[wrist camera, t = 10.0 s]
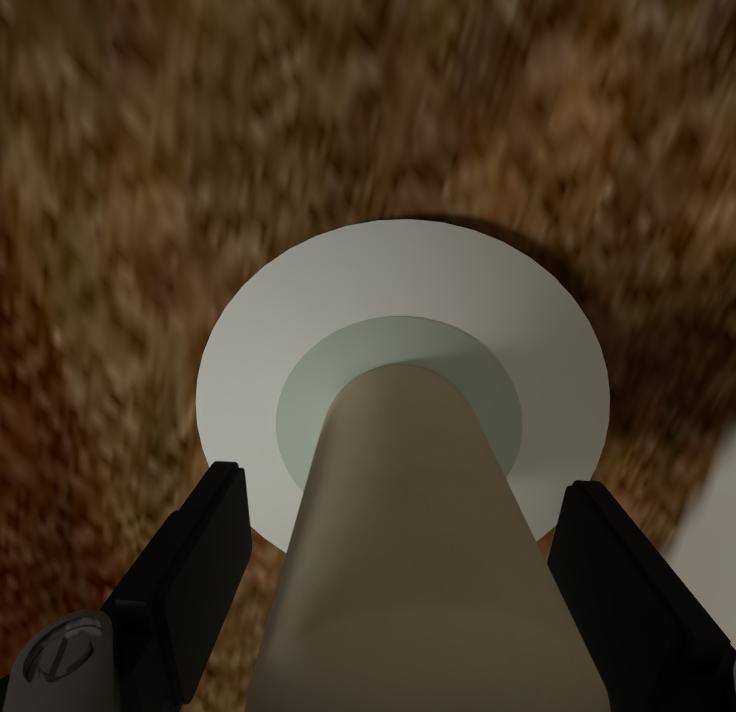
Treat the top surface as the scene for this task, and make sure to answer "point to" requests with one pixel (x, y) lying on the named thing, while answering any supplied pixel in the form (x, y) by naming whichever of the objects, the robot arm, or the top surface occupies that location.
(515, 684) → the candle
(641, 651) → the robot arm
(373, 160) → the top surface
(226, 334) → the ceramic plate
